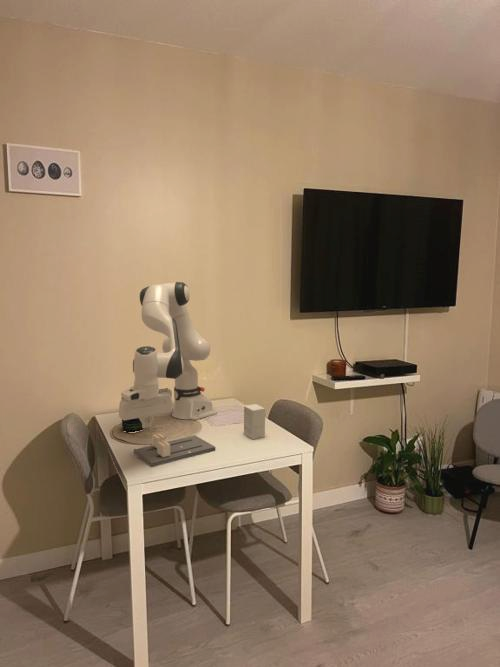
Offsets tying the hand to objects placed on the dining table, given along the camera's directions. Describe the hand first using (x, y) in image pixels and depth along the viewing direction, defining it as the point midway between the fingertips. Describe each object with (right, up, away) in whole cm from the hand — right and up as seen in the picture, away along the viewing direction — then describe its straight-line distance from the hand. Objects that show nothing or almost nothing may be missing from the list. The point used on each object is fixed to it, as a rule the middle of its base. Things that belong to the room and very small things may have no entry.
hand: (146, 427), depth 186 cm
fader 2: (+5, -11, +6) cm, 14 cm away
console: (+9, -12, +13) cm, 20 cm away
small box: (+40, -10, +33) cm, 53 cm away
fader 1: (+2, -10, +13) cm, 17 cm away
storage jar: (-14, -8, +38) cm, 42 cm away
